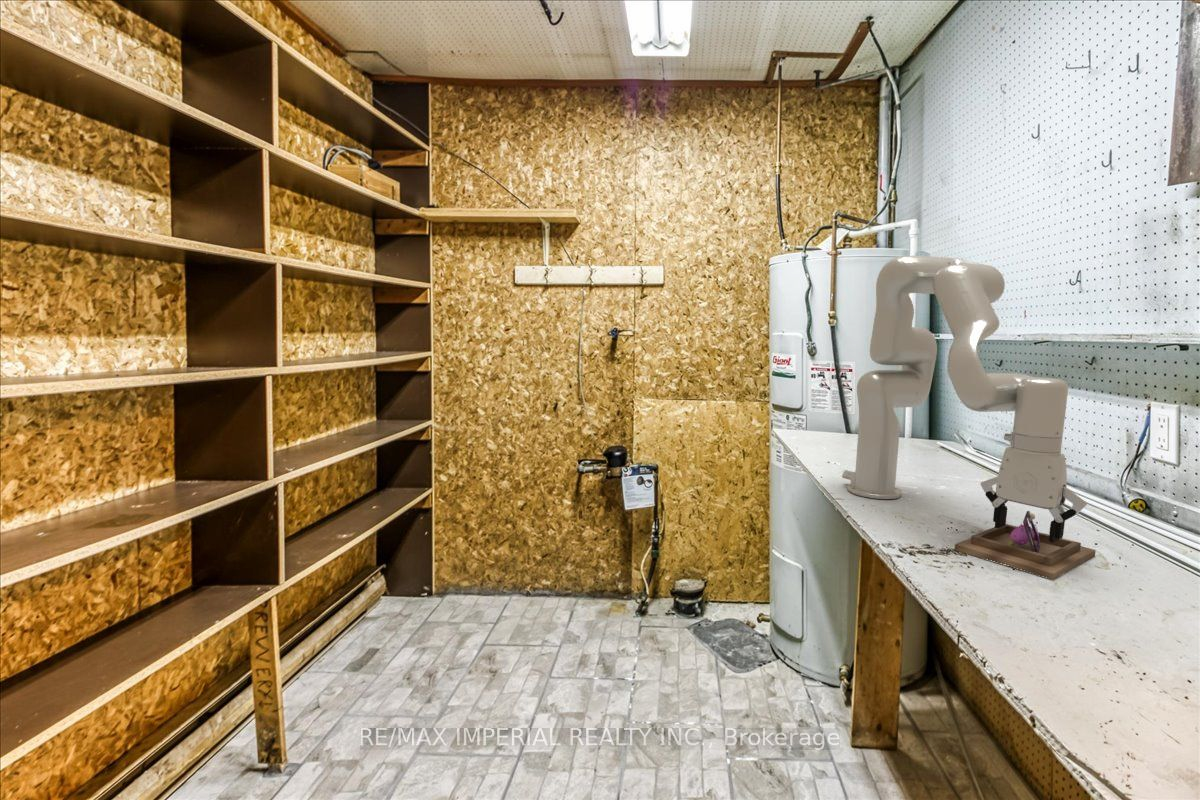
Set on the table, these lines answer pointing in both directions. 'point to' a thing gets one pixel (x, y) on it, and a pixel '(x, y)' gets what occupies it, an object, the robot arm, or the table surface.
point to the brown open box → (1026, 552)
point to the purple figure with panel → (1026, 533)
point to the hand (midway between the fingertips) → (1026, 533)
